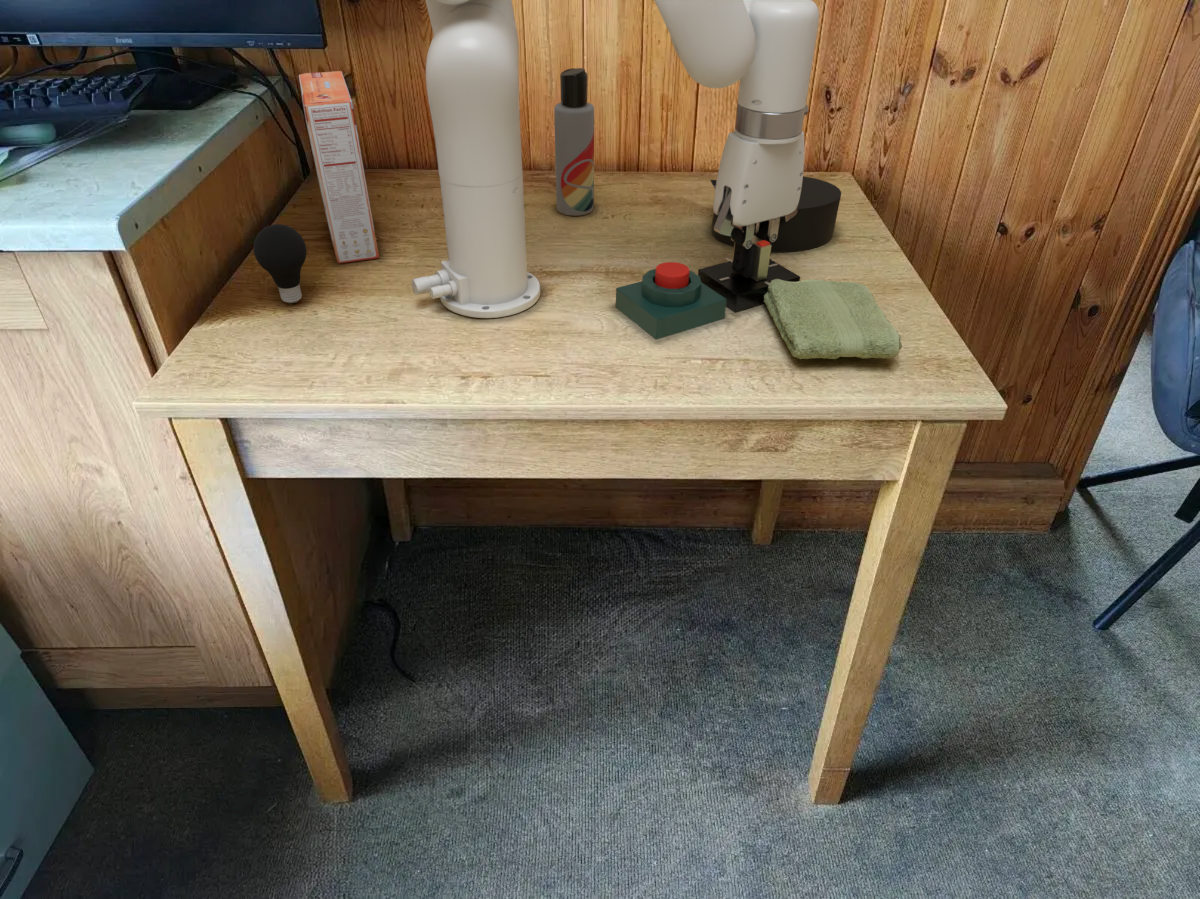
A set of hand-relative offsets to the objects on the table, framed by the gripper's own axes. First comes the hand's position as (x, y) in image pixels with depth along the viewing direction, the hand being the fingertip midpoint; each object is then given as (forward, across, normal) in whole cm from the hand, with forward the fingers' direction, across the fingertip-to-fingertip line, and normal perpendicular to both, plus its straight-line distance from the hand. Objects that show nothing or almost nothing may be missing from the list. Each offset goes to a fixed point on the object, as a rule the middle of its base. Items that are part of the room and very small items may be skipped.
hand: (749, 270), depth 106 cm
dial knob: (0, 0, 0) cm, 0 cm away
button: (-1, +12, 0) cm, 12 cm away
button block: (+3, +12, 0) cm, 12 cm away
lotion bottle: (+3, +6, -34) cm, 35 cm away
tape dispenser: (+3, -15, -13) cm, 20 cm away
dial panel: (+3, 0, 0) cm, 3 cm away
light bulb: (+3, +51, -25) cm, 57 cm away
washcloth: (+2, -1, +13) cm, 13 cm away
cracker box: (+3, +39, -39) cm, 55 cm away
